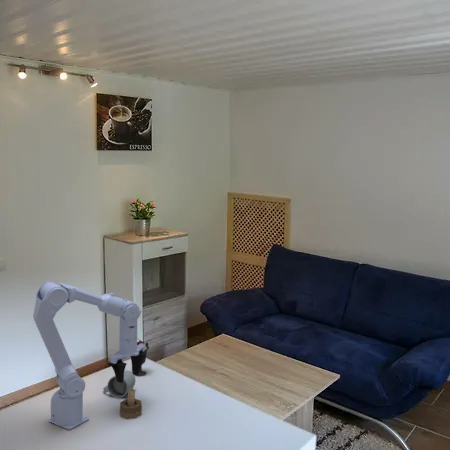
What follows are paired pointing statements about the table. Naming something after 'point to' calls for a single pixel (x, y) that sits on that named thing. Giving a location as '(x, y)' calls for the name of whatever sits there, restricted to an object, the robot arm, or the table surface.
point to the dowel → (131, 398)
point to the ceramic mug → (120, 385)
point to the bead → (130, 409)
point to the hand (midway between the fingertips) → (127, 378)
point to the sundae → (142, 373)
